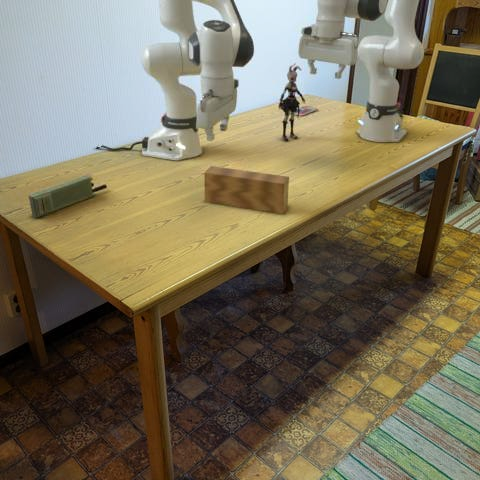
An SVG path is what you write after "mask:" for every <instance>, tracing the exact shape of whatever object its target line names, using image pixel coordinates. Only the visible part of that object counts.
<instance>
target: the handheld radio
mask: <svg viewBox="0 0 480 480" xmlns="http://www.w3.org/2000/svg"><path fill="white" fill-rule="evenodd" d="M92 176H93V174H91V173H88V174H85V175H83V176H79V177H76V178H74V179H71V180H68V181H65V182H62V183H59V184H57V185H54V186H50V187H47V188H44V189H42V190H39V191H37V192H33V193H30V194H28V200H29V206H30V210H31V216H32V217H34V218H35V219H36V218H39V217H42V216H45V215H47V214H50V213H53V212H56V211H58V210H60V209H63V208H66V207H68V206H72V205H73V204H76V203H80V202H82V201H84V200H87V199H90V198H93V196H95V195H96V194H95V193H97V192H100V191H102V190H106V189H107V188H108V186H107V184H102V185H99V186H96V187H94V186H95V183H94V182H92V181H93V180H94V178H93V177H92ZM93 187H94V188H93Z"/></svg>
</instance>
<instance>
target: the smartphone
mask: <svg viewBox="0 0 480 480" xmlns="http://www.w3.org/2000/svg"><path fill="white" fill-rule="evenodd" d="M299 109H300V111H299V116H300V117H303V116H306V115H308V114H311V113H313V112H316V111H318V108H317V107H314V106H309V105H303V106H301V107H299ZM300 113H301V114H300ZM290 114H291V112H290ZM294 116H298V108H297V112H295V115H294ZM299 116H298V117H299Z"/></svg>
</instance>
